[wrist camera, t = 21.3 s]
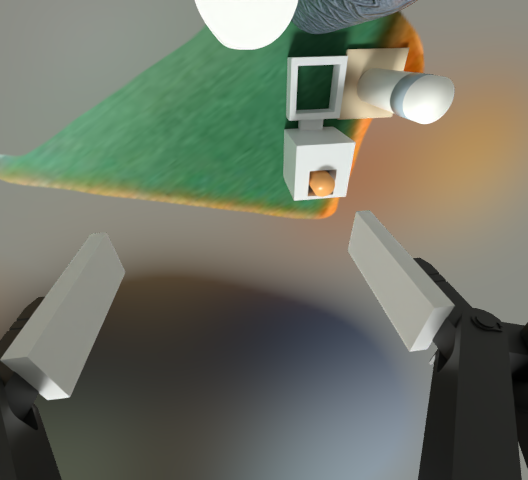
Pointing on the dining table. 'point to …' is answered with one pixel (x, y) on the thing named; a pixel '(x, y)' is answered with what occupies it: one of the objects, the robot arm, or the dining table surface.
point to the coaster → (356, 68)
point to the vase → (342, 13)
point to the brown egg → (321, 182)
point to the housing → (316, 134)
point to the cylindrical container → (246, 20)
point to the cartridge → (407, 93)
